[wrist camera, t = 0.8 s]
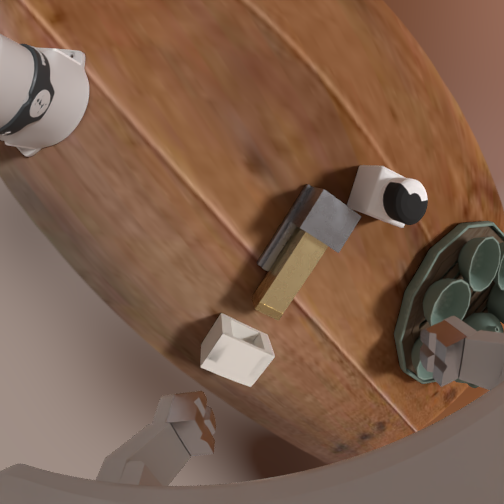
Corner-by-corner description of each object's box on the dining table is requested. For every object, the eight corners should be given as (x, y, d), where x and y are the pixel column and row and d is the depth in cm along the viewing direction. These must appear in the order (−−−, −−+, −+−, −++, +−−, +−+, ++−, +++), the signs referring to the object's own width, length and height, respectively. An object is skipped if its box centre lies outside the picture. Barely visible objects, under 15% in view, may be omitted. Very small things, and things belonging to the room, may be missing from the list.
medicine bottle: (380, 220, 46) (423, 236, 35) (345, 206, 45) (385, 220, 33) (392, 180, 44) (439, 187, 33) (358, 164, 43) (402, 165, 32)
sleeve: (256, 262, 45) (263, 276, 39) (306, 183, 43) (320, 186, 37) (298, 285, 47) (310, 302, 41) (346, 212, 45) (364, 218, 39)
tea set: (484, 183, 47) (541, 194, 32) (510, 301, 59) (548, 324, 43) (360, 308, 50) (408, 357, 35) (418, 399, 62) (449, 437, 46)
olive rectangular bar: (251, 297, 46) (254, 309, 42) (308, 208, 43) (317, 212, 39) (273, 308, 47) (278, 320, 43) (329, 222, 44) (340, 228, 40)
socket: (201, 344, 48) (200, 367, 42) (221, 312, 47) (222, 333, 41) (246, 363, 50) (250, 387, 44) (267, 334, 49) (274, 356, 43)
